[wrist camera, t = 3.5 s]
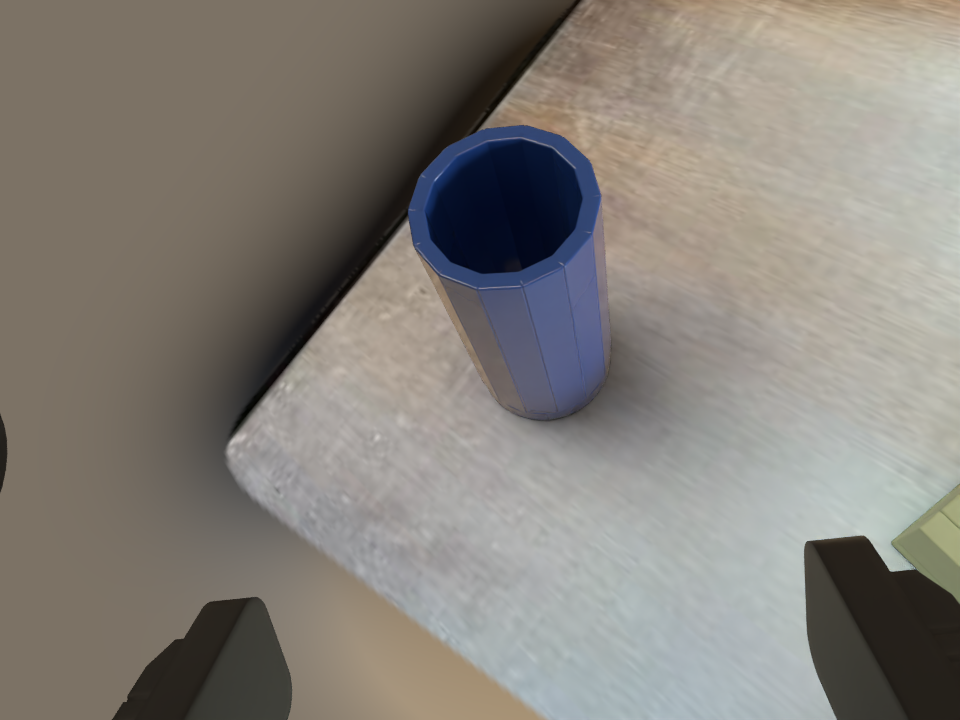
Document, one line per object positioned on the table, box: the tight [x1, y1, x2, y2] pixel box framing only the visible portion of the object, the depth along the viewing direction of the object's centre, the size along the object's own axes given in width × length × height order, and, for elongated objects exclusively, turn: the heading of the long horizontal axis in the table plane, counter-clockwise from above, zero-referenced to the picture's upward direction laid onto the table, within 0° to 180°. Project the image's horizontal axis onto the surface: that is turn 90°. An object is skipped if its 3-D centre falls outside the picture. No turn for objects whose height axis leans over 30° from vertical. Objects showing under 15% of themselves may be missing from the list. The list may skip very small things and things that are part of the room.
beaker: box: [408, 125, 611, 420], centre depth 23 cm, size 5×5×10 cm
